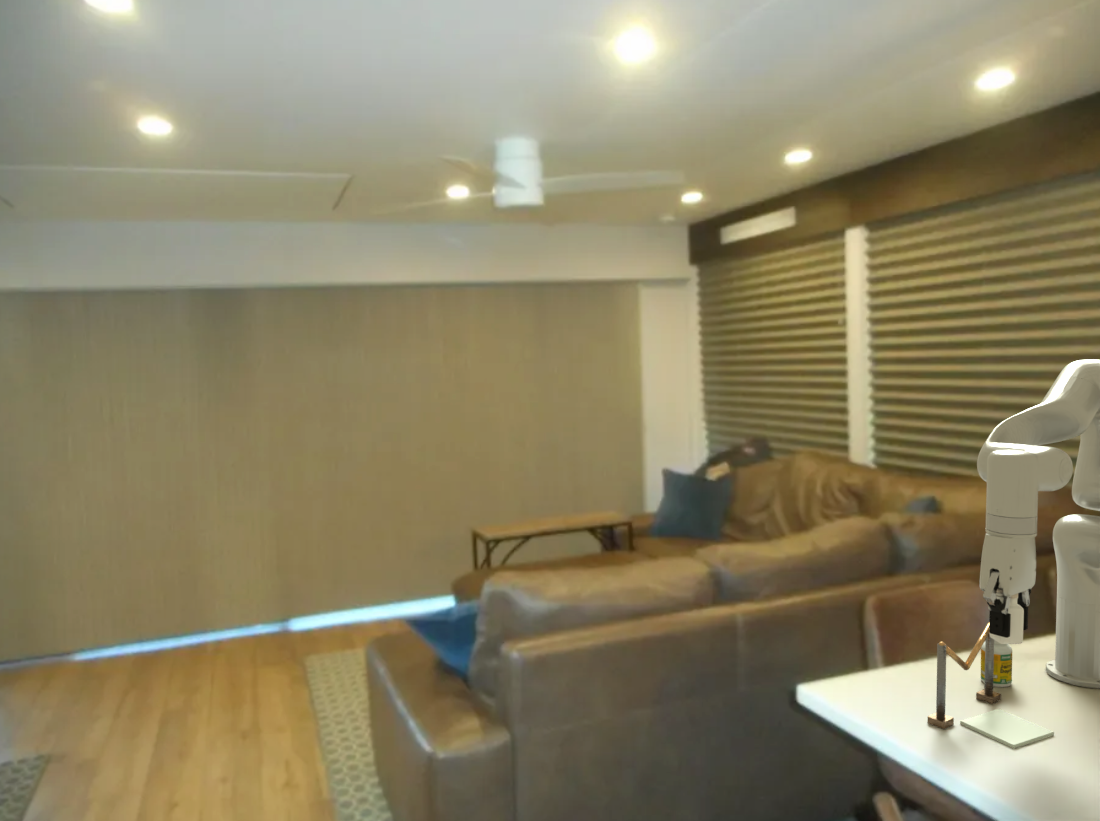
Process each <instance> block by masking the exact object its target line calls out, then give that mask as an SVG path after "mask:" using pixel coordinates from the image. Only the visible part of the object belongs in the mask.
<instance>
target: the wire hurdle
mask: <svg viewBox="0 0 1100 821" xmlns="http://www.w3.org/2000/svg"><path fill="white" fill-rule="evenodd" d="M984 642H985V683H984V688H983V689H981V690H979V691H977V692H976V693H975V699H976V700H977V701H980V702H983V703H987V704H990V705H994V704H996V703H998V702H1000V701H1002V693H1001V692H996V691H994V686H993V670H994V639H992V638H991V637H990V632H989V621H988V622H987V623H986V624H985V627H984V628H983V630H982V632H981V634H980V635H979V637H978V639H977V641H976V643H975V645H974V646H973V648H972V649H971V651H970V653H969V655H968V657H967V659H966V661H964V660H963V659H962V658H961V657H960V656H959V655H958V654H956V652H954V650H953V649H951V647H949V646H948V645H947V644H946V643H945V642H944V641H939V643H937V644H936V646H937V647H936V649H937V650H936V697H935V698H936V699H935V700H936V703H935V704H936V706H935V707H936V708H935V710H936V712H934V713H932V714H930V715H928V716H927V724H928V725H931V726H934V727H937V728H940V729H943V730H946V729H948V728H949V727H952V726H953V725H954V720H955V718H954V717H953V716H951V715H947V714H946V695H947V694H946V688H947V685H946V684H947V683H946V682H947V679H946V678H947V655H948V656H949V657H950V658H951V659H952V660H953V661H954V662H955V663H956V664H958V665H959V667H961V668H962V669H963V670H964V671H968V670H970V668H971V667H972V664H973V663H974V661H975V659H976V658H977V656H978V654H979V653H980V651H981V647H982V645H983V643H984Z"/></svg>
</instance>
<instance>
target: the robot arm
mask: <svg viewBox="0 0 1100 821" xmlns="http://www.w3.org/2000/svg"><path fill="white" fill-rule="evenodd" d="M1078 436H1080V437H1079V438H1080V439H1079V440H1080V442H1079V447H1078V453H1077V458H1076V463H1075V469H1074V466H1073V461H1072V458H1071V456H1070V455H1069V454H1068V453H1067V452H1066V451H1064V450H1062V448H1058V447H1053V446H1046V445H1048V444H1053V443H1059V442H1062V441H1063V442H1064V441H1068V440H1071V439H1075V438H1077V437H1078ZM976 467H977V473H978V476H979V477H980V478H981V479H982V480H983V481H984V482H985V483H986V495H985V496H986V499H985V502H986V503H985V534H984V540H983V545H982V552H981V559H980V561H981V562H980V572H979V589H980V591H982V592H983V594H982V597H983V599H984V600H985V601H986V604H987V609H988V611H989V616H988V617H989V620H988V622H989V632H990V633H991V634H994V635H998V636H1002V637H1005V638H1008V637H1010V623H1011V614H1009V613H1008V610H1009V604H1010V598H1011V596H1012V595H1015V594H1018V598H1017V604H1018V605H1020V606H1021V607H1022V608H1023V609H1024V623H1023V631H1027V630H1028V628H1029V606H1030V602H1031V601H1030V600H1031V599H1030V595H1031V594H1032V588H1033V587H1034V586H1035V585H1036V577H1037V552H1036V551H1037V550H1036V537H1037V536H1038V511H1039V509H1038V508H1039V506H1038V505H1039V504H1038V503H1039V492H1054V491H1058V490H1060V489H1062V488H1064V487H1065V486H1066V485H1067V484H1068V483H1069V482H1070V480H1071V479H1073V480H1072V485H1071V486H1072V487H1071V496H1072V500H1073V502H1074V503H1075V504H1076V505H1078V506H1079V507H1081V508H1084V509H1088V510H1091V511H1092V510H1093V511H1098V512H1100V359H1094V358H1093V359H1079V360H1075V361H1072V362H1069V363H1068V364H1066V365H1065V367H1063V369H1062V370H1061V371H1060V373H1059V374H1058V376H1057V377H1056V379H1055V380H1054V382H1053V383H1052V384H1051V386H1050V388H1049V390H1048V391H1047V393H1046V394H1045V396H1044V397H1043V399H1042V401H1041V402H1040V403H1039V404H1037V405H1034V406H1032V407H1029V408H1027V409H1025V410H1023V411H1020V412H1018V413H1017V414H1014V415H1012V416H1010V417H1008V418H1006V419H1004V420H1003V421H1001V422H1000V423H998V424H997V425H996V426H995V427H994V428H993V429H992V431H991V432H990V434H989V435H988V437H987V438H986V440H985V442H984V443H983V444H982V447H981V448H980V451H979V452H978V456H977V461H976ZM1072 477H1073V478H1072ZM1052 542H1053V549H1054V554H1055V561H1056V574H1057V576H1056V579H1057V581H1056V612H1055V613H1056V615H1055V616H1056V617H1055V619H1056V620H1055V621H1056V622H1055V650H1054V651H1055V655H1054V656H1055V658H1054V659H1052V660H1049V661H1047V662H1046V663H1045V671H1046V673H1047V674H1048V675H1050V676H1051V677H1052V678H1054V679H1056V680H1057V681H1060V682H1062V683H1063V682H1064V683H1066V684H1069V685H1074V686H1078V687H1083V688H1090V689H1100V515H1099V516H1098V515H1093V514H1092V515H1090V514H1081V513H1076V514H1068V515H1065V516H1063V517H1060V518H1059V519H1058V520H1057V521H1056V523H1055V525H1054V527H1053V530H1052ZM997 589H1000V590H1003V594H1002V593H997ZM997 596H998V597H1003V598H1004V599H1003V604H1002V602H1001V601H1000V599H997Z"/></svg>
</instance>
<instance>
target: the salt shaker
mask: <svg viewBox="0 0 1100 821" xmlns="http://www.w3.org/2000/svg"><path fill="white" fill-rule="evenodd" d="M997 593H1002V594H1003V590H1000V589H997ZM1017 598H1018V594H1015V595H1012V596H1011V598H1010V604H1009V610H1008V613H1009V614H1011V623H1010V637H1008V638H1005V637H1002V636H998V635H994V634H991V633H990V637H991V638H992V639H994V640H996V641H997V642H999V643H1000V644H1008V645H1021V644H1023V643H1024V642H1023V641H1024V630H1023V623H1024V609H1023V608H1022V607H1021V606H1020V605H1018V604H1017ZM997 599H1000V601H1001V602H1002V604H1003V599H1004V598H1003V597H998V596H997Z"/></svg>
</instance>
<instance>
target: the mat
mask: <svg viewBox="0 0 1100 821" xmlns="http://www.w3.org/2000/svg"><path fill="white" fill-rule="evenodd" d="M959 722H960V725H962V726H963V727H966V728H968V729H970V730H972V731H974V732H977V733H980V734H981V735H983V736H985V737H988V738H990V739H993V740H994V741H997V742H999V743H1001V744H1003V745H1005V746H1007V747H1009V748H1012V749H1017V748H1020V747H1022V746H1025V745H1028V744H1031V743H1035V742H1038V741H1040V740H1043V739H1047V738H1049V737H1053V736H1054V735H1055V731H1053V730H1052V729H1049V728H1047V727H1044V726H1042V725H1039V724H1037V723H1036V722H1035V723H1034V722H1032V721H1030V720H1027V719H1025V718H1023V717H1021V716H1018V715H1016V714H1013V713H1010V712H1008V711H1006V710H1003V709H1001V708H998V709H994V710H991V711H987V712H984V713H981V714H977V715H974V716H970V717H967V718H965V719H961V720H960V721H959Z"/></svg>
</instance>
